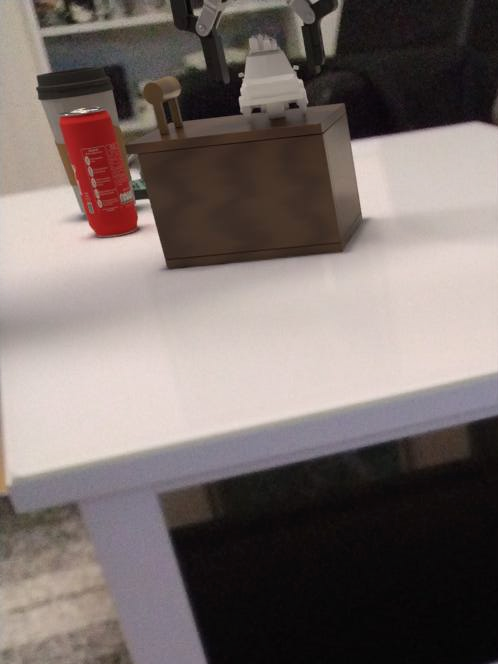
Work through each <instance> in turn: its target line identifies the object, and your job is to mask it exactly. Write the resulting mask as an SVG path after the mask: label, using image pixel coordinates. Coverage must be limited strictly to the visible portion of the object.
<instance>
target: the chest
mask: <svg viewBox="0 0 498 664" xmlns="http://www.w3.org/2000/svg"><path fill="white" fill-rule="evenodd" d="M137 155H138V157H137V158H138V163H139V168H140V167H141V171H142V174H143V178H144V182H145V186H146V189H147V193H148V197H149V198H148V200H149V205H150V208H151V212H152V216H153V220H154V223H155V224H154V225H155V227H156V231H157V235H158V238H159V243H160V247H161V250H162V254H163V256H164V262H165V265H166V269H168V270H169V269H180V268H191V267H202V266H210V265H220V264H221V265H223V264H230V263H243V262H253V261H263V260H272V259H283V258H293V257H303V256H314V255H325V254H334V253H335V254H336V253H343V251H344V250H345V248H346V247H347V245H348V243H349V242H350V240H351V238H352V237H353V235H354V234H355V233H356V230H357V229H358V227H359V226H360V224H361V223H362V222H363V218H364V217H363V213H362V206H361V199H360V193H359V188H358V187H359V186H358V179H357V172H356V167H355V161H354V154H353V148H352V142H351V135H350V128H349V121H348V115H347V112H345V113H344V114H343V115H342V116H341V117H340V118H339V119H337V120H336V121H335V122H334V123H333V124H332V125H331V126H330V127H328V128H327V129H326V130H325V131H324V132H323V133H319V134H310V135H301V136H292V137H283V138H274V139H265V140H256V141H247V142H238V143H229V144H220V145H211V146H202V147H193V148H184V149H175V150H166V151H157V152H148V153H139V154H137Z"/></svg>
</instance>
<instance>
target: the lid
mask: <svg viewBox="0 0 498 664" xmlns="http://www.w3.org/2000/svg"><path fill="white" fill-rule="evenodd" d="M181 90H182V87H181V83H180V82H179V80H178V79H177V77H174V76H172V75H167V76H164V77H161V78H157V79H155V80H152V81H150V82H147V83H146V84H145V85H144V86H143V89H142V95H143V98H144V100H145V101H146V102H147V103H148V104H150V105H151V106H152V108H153V111H154V115H155V119H156V123H157V127H158V128H157V129H155V130H152V131H150V132H148V133H146V134H144V135H141V136H140V137H138V138H136V139H134V140H132V141H130V142H128V143H125V144H124V145H125V150H126V155H130V156H131V154H139V153H148V152H157V151H166V150H175V149H184V148H193V147H202V146H211V145H220V144H229V143H238V142H247V141H256V140H265V139H274V138H283V137H292V136H301V135H310V134H319V133H323V132H324V131H325V130H326V129H327V128H328V127H330V126H331V125H332V124H333V123H334V122H335V121H336V120H337V119H339V118H340V117H341V116H342V115H343V114H344V113H347V110H346V103H334V104H333V103H332V104H325V105H324V104H323V105H316V106H307V110H306V115H305V116H304V115H303V114H302V111H300V108H299V107H298V108H297V107H296V108H289V110H285V113H286V118H284V119H277V120H269V119H268V117H267V113H262V112H254V113H251V122H250V124H249V123H248V122H247V120H246V118H244V115H243V114H235V115H227V116H219V117H211V118H210V117H209V118H202V119H201V118H200V119H193V120H184V121H183V119H182V114H181V109H180V105H179V101H178V98H177V97H179V95H180V94H181ZM165 102H167V103H168V106H169V110H170V114H171V118H172V122H169V123H168V121H167V117H166V113H165V109H164V104H163V103H165Z"/></svg>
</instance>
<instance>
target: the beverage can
mask: <svg viewBox="0 0 498 664" xmlns="http://www.w3.org/2000/svg"><path fill="white" fill-rule="evenodd" d="M59 116H60V122H59V125H60V128H61V132H62V135H63V138H64V142H65V145H66V148H67V152H68V155H69V158H70V162H71V165H72V168H73V172H74V175H75V179H76V182H77V185H78V189H79V192H80V195H81V199H82V202H83V205H84V209H85V212H86V215H87V218H86V219H87V222H88V225H89V227H90V228H91V229H92V230H93V232H94V234H95V235H96V237H100V238H111V237H118V236H122V235H123V236H124V235H127V234H130V233H133V232H135V231H138V222H139V215H138V212H137V211H138V210H137V208H136V204H134V200H133V197H132V193H131V189H130V186H129V182H128V178H127V175H126V171H125V167H124V164H123V160H122V156H121V153H120V149H119V145H118V142H117V138H116V134H115V131H114V127H113V123H112V120H111V116H110V115H109V114H108V112H107V111H106V107H91V108H83V109H76V110H71V111H66V112H62V113H60V114H59Z"/></svg>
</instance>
